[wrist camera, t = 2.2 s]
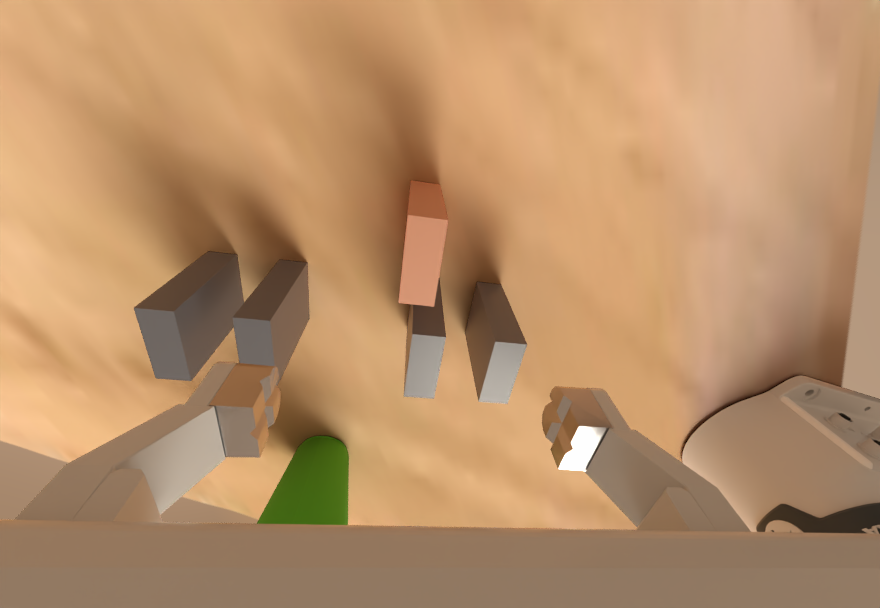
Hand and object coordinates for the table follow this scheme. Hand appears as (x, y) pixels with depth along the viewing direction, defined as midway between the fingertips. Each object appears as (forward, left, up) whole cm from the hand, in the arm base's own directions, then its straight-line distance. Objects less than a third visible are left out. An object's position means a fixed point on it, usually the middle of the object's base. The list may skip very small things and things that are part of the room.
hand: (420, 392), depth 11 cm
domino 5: (-6, +7, -18) cm, 20 cm away
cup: (+7, +26, -18) cm, 32 cm away
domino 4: (-1, +7, -18) cm, 19 cm away
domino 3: (0, 0, -18) cm, 18 cm away
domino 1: (+14, +7, -18) cm, 23 cm away
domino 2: (+9, +7, -18) cm, 21 cm away
